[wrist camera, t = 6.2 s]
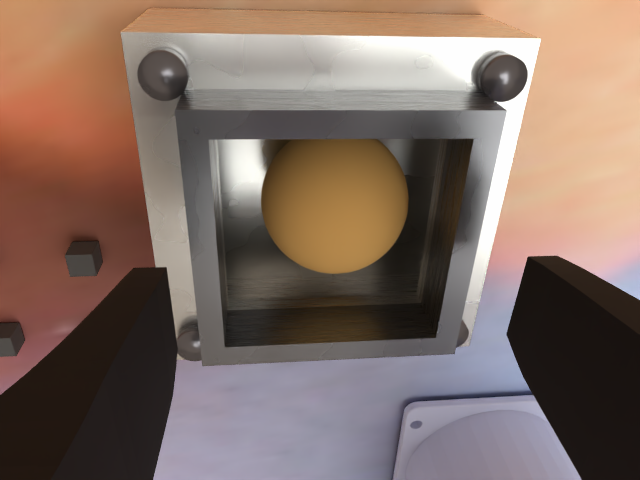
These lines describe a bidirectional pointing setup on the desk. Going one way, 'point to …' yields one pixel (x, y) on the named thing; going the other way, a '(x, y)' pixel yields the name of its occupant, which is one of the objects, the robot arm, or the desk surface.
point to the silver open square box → (322, 123)
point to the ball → (334, 202)
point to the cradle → (80, 263)
